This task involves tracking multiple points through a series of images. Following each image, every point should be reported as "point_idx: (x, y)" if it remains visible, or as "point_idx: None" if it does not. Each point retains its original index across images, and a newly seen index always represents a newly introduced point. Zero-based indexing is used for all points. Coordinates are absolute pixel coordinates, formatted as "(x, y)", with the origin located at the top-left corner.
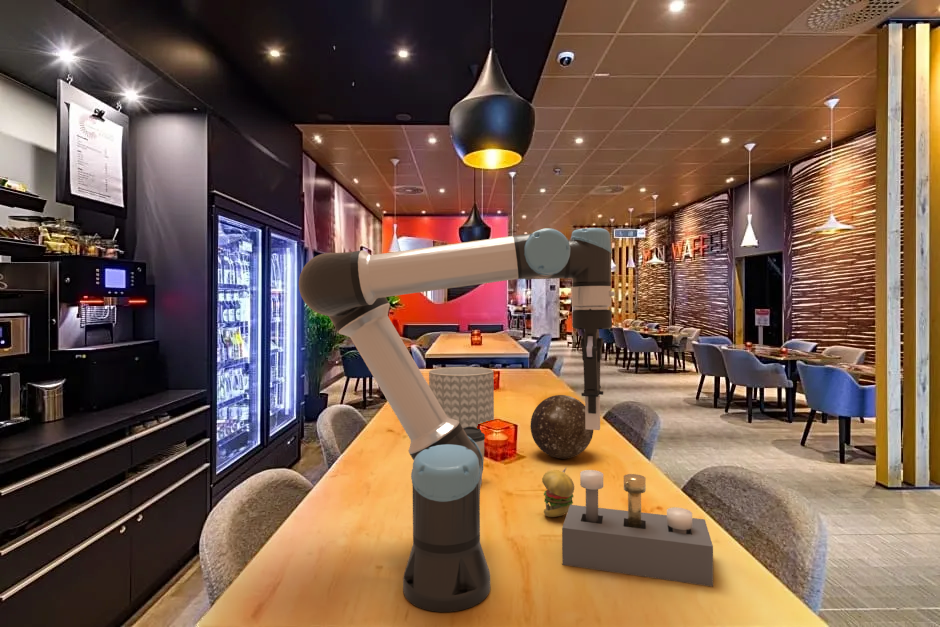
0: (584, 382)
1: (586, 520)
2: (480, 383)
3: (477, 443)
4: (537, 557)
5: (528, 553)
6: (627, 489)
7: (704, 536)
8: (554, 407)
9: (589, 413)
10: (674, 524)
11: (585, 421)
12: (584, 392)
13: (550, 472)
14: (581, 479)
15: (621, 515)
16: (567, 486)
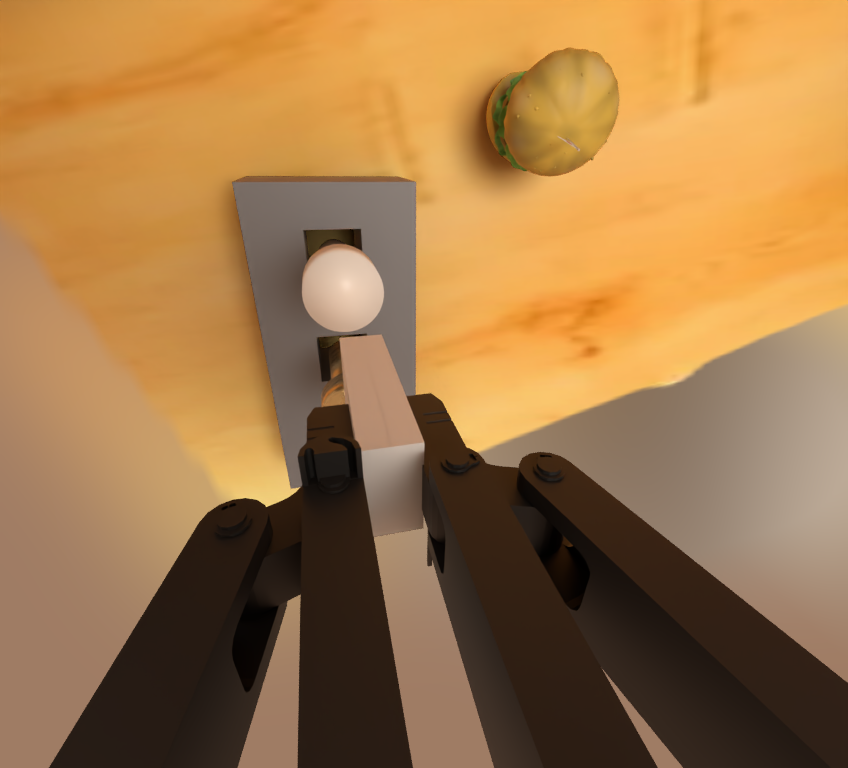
0: (131, 642)
1: (324, 243)
2: None
3: None
4: (254, 99)
5: (265, 66)
6: (325, 387)
7: None
8: None
9: (346, 404)
10: None
11: (342, 356)
12: (200, 522)
13: (578, 81)
14: (318, 255)
15: (382, 325)
16: (528, 157)
